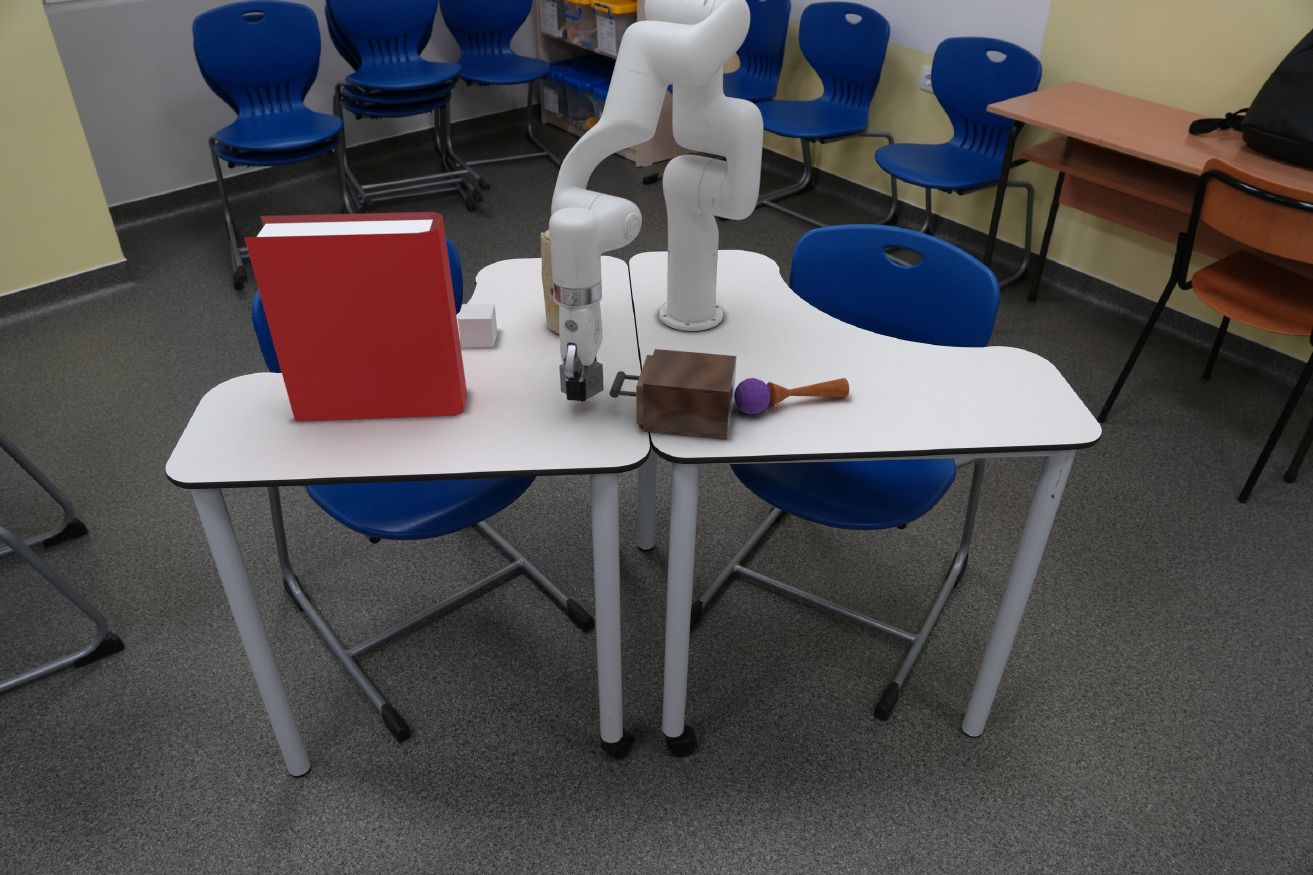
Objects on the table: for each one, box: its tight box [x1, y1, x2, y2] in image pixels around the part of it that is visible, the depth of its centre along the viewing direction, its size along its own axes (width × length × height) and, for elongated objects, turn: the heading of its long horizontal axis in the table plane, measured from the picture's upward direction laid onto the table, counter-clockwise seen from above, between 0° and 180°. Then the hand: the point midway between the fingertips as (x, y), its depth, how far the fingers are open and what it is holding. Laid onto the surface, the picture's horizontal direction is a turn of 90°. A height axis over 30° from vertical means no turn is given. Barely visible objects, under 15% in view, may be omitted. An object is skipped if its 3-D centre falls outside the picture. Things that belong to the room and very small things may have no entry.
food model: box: [540, 228, 559, 334], centre depth 170 cm, size 10×7×20 cm
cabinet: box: [642, 348, 737, 440], centre depth 147 cm, size 14×11×9 cm
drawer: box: [608, 354, 653, 426], centre depth 148 cm, size 17×10×7 cm, turn 81°
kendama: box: [734, 377, 850, 415], centre depth 151 cm, size 6×6×20 cm
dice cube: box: [558, 358, 605, 403], centre depth 149 cm, size 5×5×5 cm
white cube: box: [457, 303, 498, 349], centre depth 169 cm, size 6×6×6 cm
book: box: [244, 211, 468, 422], centre depth 143 cm, size 27×8×32 cm, turn 94°
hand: (582, 386), depth 150 cm, fingers closed on dice cube, 7 cm apart
